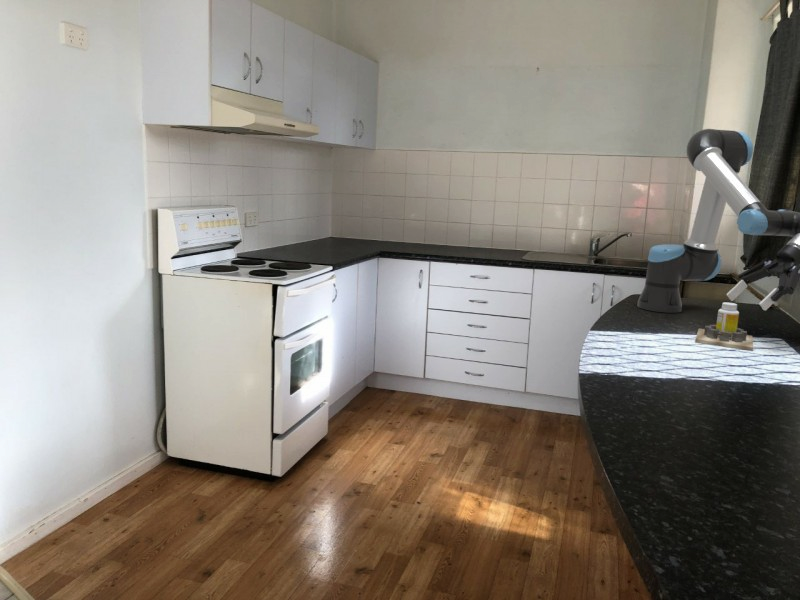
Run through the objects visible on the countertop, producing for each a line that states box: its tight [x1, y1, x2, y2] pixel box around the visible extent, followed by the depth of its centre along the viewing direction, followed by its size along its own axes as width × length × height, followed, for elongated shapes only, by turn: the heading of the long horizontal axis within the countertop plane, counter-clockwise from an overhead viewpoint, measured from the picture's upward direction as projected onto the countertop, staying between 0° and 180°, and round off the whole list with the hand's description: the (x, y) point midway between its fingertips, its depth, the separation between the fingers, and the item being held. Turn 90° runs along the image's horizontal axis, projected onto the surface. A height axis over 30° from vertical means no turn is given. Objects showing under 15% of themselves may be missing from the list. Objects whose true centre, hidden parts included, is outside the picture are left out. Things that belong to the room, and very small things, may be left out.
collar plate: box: [694, 324, 754, 351], centre depth 198 cm, size 15×17×4 cm
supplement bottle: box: [715, 301, 740, 339], centre depth 197 cm, size 6×6×10 cm
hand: (745, 302), depth 197 cm, fingers open, 13 cm apart
